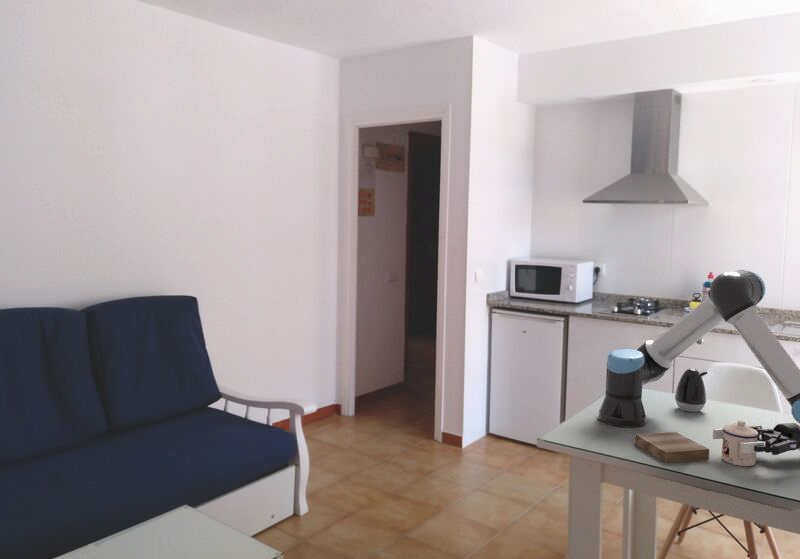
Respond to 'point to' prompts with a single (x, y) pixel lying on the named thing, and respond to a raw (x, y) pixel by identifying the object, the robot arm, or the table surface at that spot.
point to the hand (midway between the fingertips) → (727, 441)
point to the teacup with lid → (738, 444)
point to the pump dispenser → (691, 391)
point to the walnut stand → (671, 447)
